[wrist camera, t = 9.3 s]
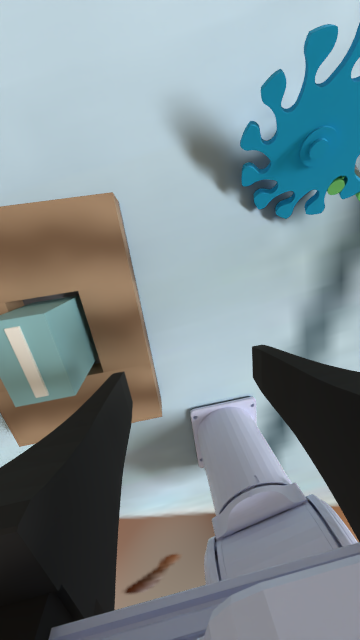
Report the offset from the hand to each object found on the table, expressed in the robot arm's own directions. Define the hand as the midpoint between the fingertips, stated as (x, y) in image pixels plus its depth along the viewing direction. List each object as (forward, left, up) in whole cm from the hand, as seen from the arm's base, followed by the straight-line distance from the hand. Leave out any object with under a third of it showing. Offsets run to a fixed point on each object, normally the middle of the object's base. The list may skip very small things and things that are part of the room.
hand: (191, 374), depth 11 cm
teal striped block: (+1, +10, -9) cm, 13 cm away
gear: (+12, -12, -10) cm, 19 cm away
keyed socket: (+1, +10, -9) cm, 14 cm away
